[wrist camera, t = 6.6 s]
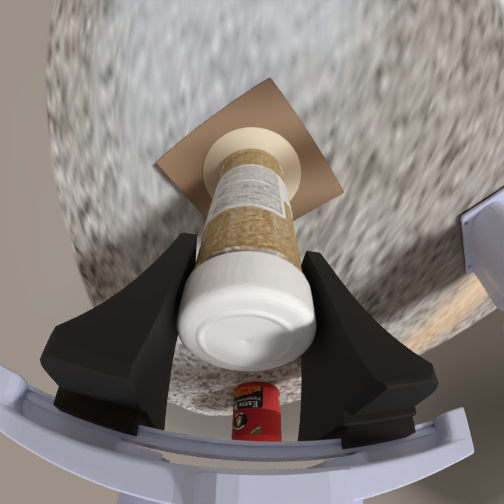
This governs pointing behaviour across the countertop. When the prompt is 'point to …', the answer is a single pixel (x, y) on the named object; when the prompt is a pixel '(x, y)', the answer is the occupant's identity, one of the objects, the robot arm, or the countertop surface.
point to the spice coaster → (253, 137)
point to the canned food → (256, 413)
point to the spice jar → (248, 273)
